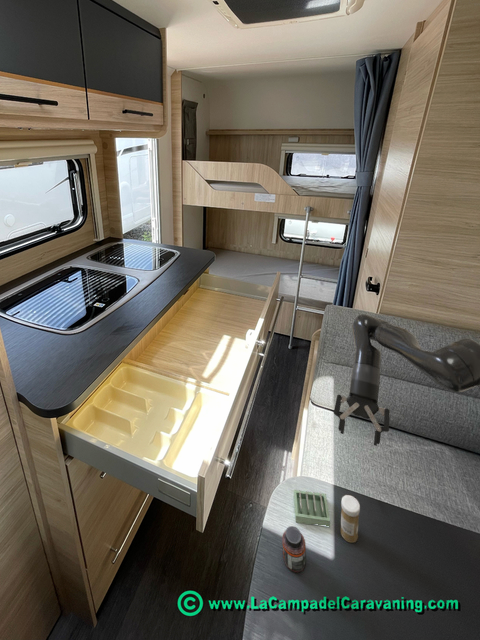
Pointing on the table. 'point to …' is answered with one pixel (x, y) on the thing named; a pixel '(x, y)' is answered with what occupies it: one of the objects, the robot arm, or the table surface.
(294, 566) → the supplement bottle
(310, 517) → the drainer
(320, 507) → the drainer rack
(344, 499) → the sprinkles bottle
